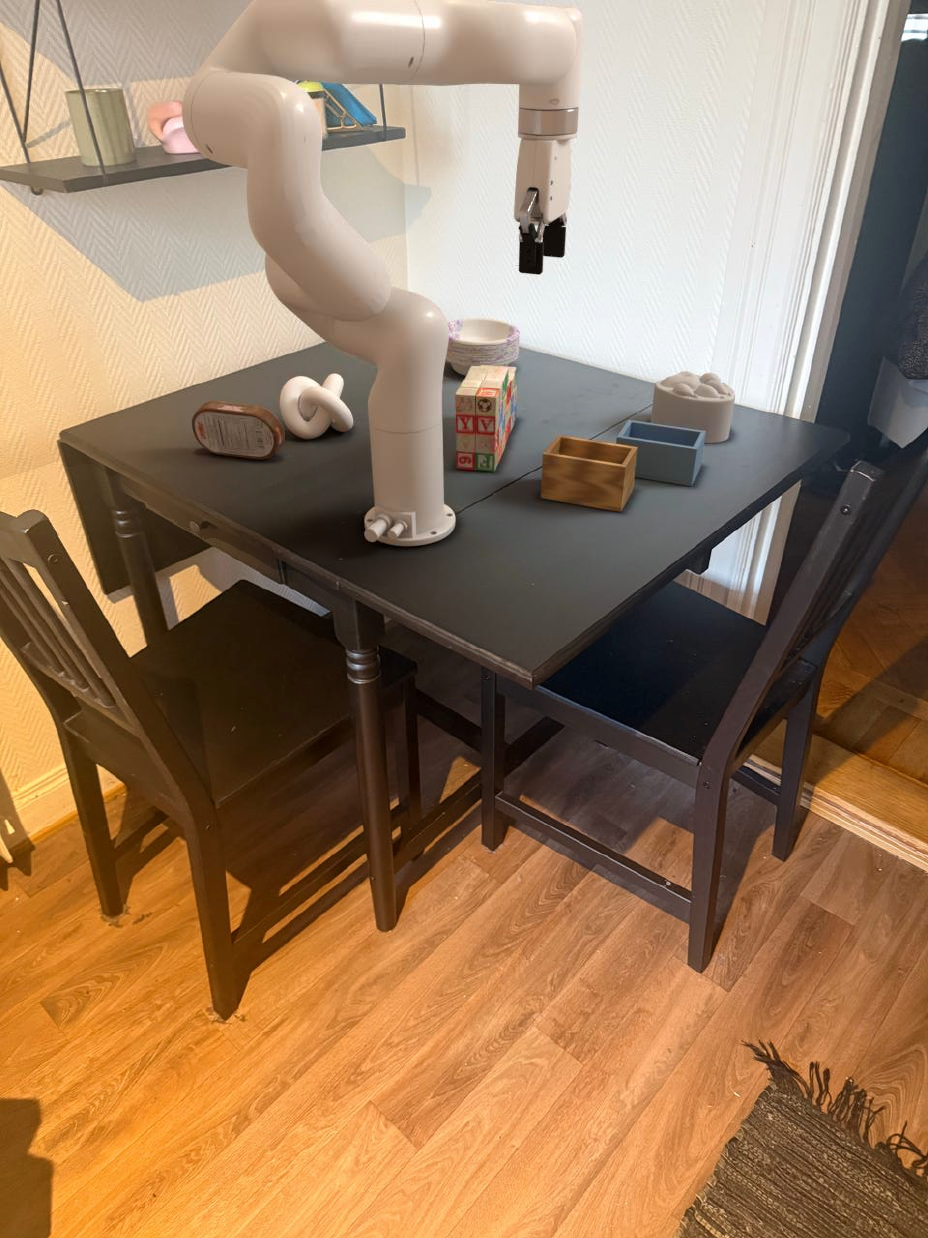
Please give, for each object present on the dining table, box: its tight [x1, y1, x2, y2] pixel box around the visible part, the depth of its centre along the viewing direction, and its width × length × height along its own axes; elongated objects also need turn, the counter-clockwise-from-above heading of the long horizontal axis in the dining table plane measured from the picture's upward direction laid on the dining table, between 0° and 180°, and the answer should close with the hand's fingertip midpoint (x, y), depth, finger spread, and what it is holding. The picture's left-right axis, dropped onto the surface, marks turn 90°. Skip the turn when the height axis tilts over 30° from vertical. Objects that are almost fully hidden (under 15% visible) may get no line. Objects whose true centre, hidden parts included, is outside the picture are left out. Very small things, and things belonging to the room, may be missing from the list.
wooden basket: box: [540, 434, 638, 513], centre depth 134 cm, size 12×7×7 cm, turn 68°
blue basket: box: [615, 419, 706, 487], centre depth 141 cm, size 12×7×6 cm, turn 68°
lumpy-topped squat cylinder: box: [650, 370, 736, 444], centre depth 153 cm, size 10×13×9 cm
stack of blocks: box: [454, 365, 518, 473], centre depth 148 cm, size 21×6×12 cm, turn 168°
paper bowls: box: [445, 317, 521, 377], centre depth 178 cm, size 15×15×8 cm
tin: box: [191, 400, 286, 461], centre depth 146 cm, size 15×3×8 cm, turn 74°
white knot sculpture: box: [279, 373, 354, 440], centre depth 154 cm, size 11×12×9 cm
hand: (542, 264), depth 127 cm, fingers open, 9 cm apart
